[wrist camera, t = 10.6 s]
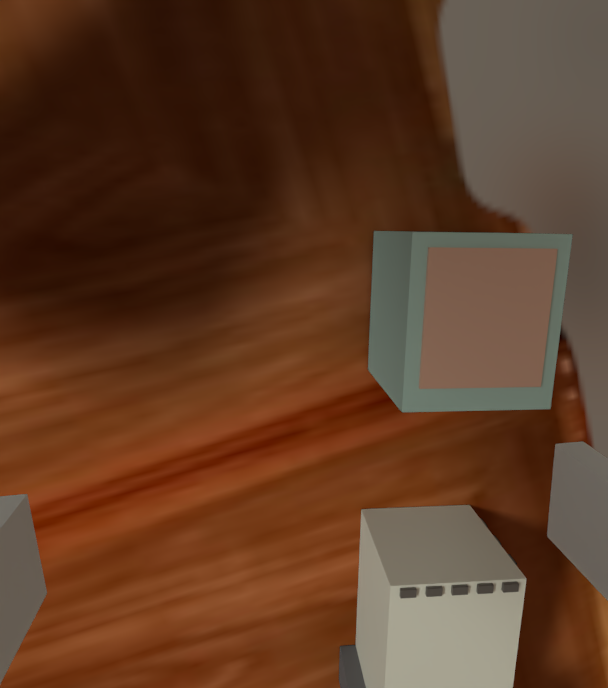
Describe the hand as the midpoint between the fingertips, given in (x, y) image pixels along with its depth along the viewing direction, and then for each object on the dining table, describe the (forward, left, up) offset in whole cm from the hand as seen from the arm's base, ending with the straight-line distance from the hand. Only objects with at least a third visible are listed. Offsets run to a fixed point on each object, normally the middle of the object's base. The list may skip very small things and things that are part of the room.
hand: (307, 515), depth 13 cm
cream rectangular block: (+20, +10, -21) cm, 31 cm away
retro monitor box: (-2, +10, -21) cm, 23 cm away
